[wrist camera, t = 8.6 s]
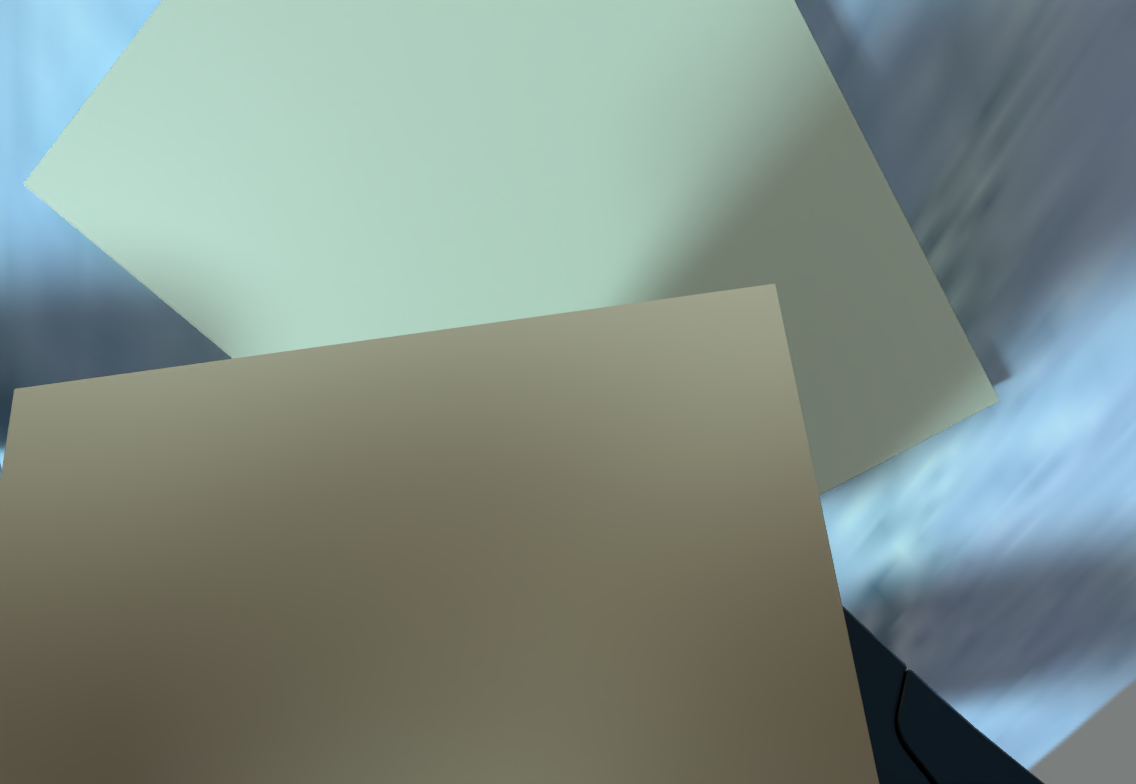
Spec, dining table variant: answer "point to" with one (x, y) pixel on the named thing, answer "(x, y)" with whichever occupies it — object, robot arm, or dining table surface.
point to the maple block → (432, 563)
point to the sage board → (514, 186)
